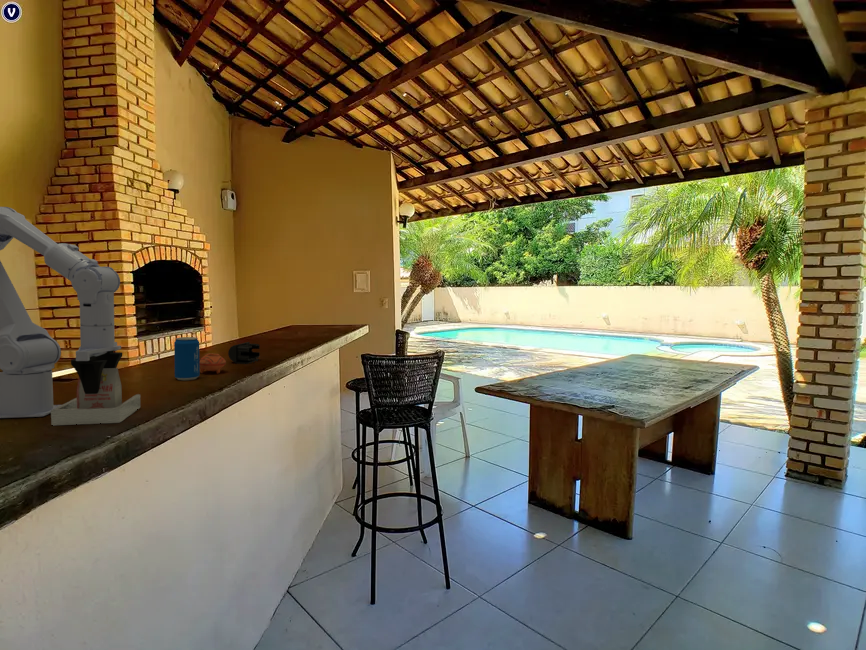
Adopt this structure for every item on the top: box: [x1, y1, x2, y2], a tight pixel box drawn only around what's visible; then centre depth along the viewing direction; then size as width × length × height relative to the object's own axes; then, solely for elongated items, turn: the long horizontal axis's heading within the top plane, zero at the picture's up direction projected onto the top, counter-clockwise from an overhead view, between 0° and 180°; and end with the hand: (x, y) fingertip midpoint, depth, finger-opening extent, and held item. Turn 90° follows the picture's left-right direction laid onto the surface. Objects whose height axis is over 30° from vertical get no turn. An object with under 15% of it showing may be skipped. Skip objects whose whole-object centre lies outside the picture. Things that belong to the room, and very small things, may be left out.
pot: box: [200, 352, 227, 375], centre depth 145 cm, size 8×8×7 cm
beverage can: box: [173, 336, 201, 381], centre depth 135 cm, size 6×6×12 cm
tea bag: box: [76, 367, 123, 408], centre depth 97 cm, size 4×7×10 cm, turn 105°
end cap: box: [227, 341, 261, 365], centre depth 167 cm, size 10×7×7 cm
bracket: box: [50, 393, 141, 426], centre depth 96 cm, size 12×12×3 cm
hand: (98, 389), depth 96 cm, fingers open, 6 cm apart
